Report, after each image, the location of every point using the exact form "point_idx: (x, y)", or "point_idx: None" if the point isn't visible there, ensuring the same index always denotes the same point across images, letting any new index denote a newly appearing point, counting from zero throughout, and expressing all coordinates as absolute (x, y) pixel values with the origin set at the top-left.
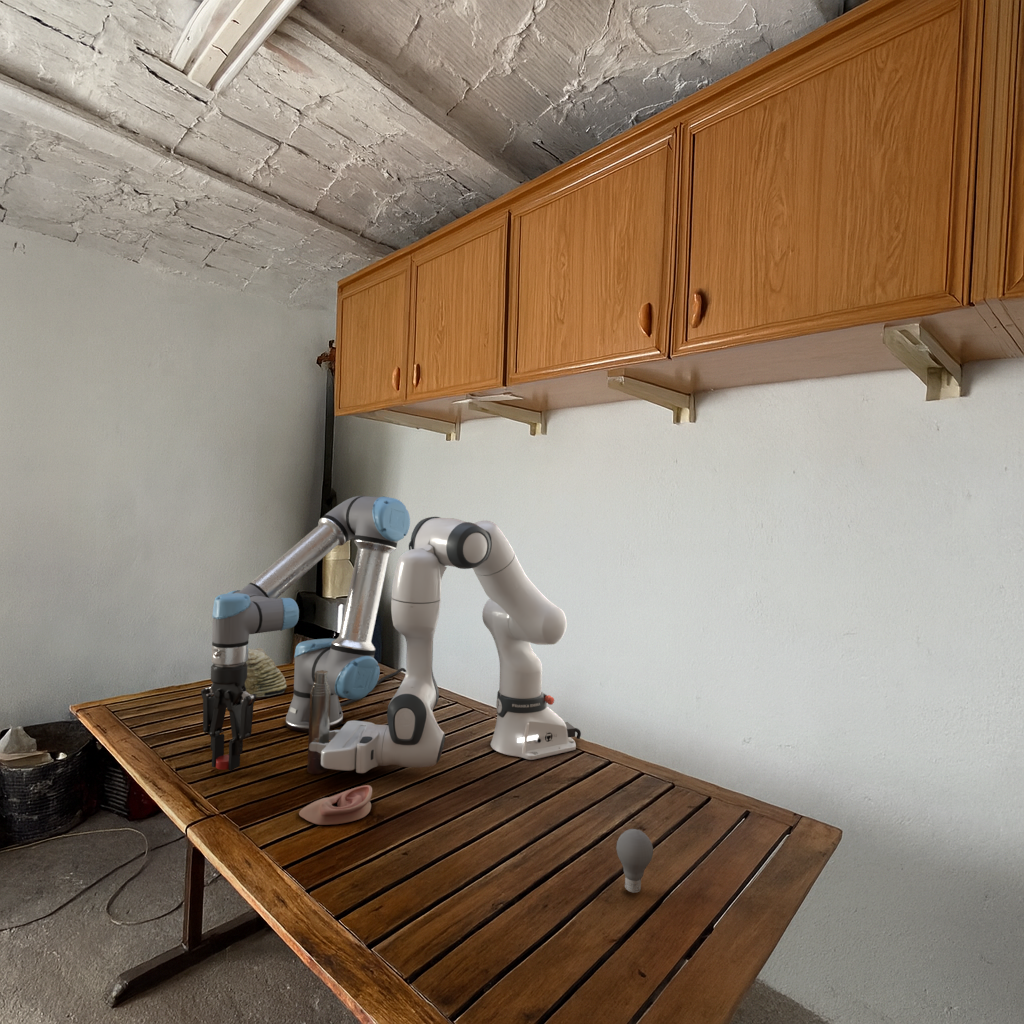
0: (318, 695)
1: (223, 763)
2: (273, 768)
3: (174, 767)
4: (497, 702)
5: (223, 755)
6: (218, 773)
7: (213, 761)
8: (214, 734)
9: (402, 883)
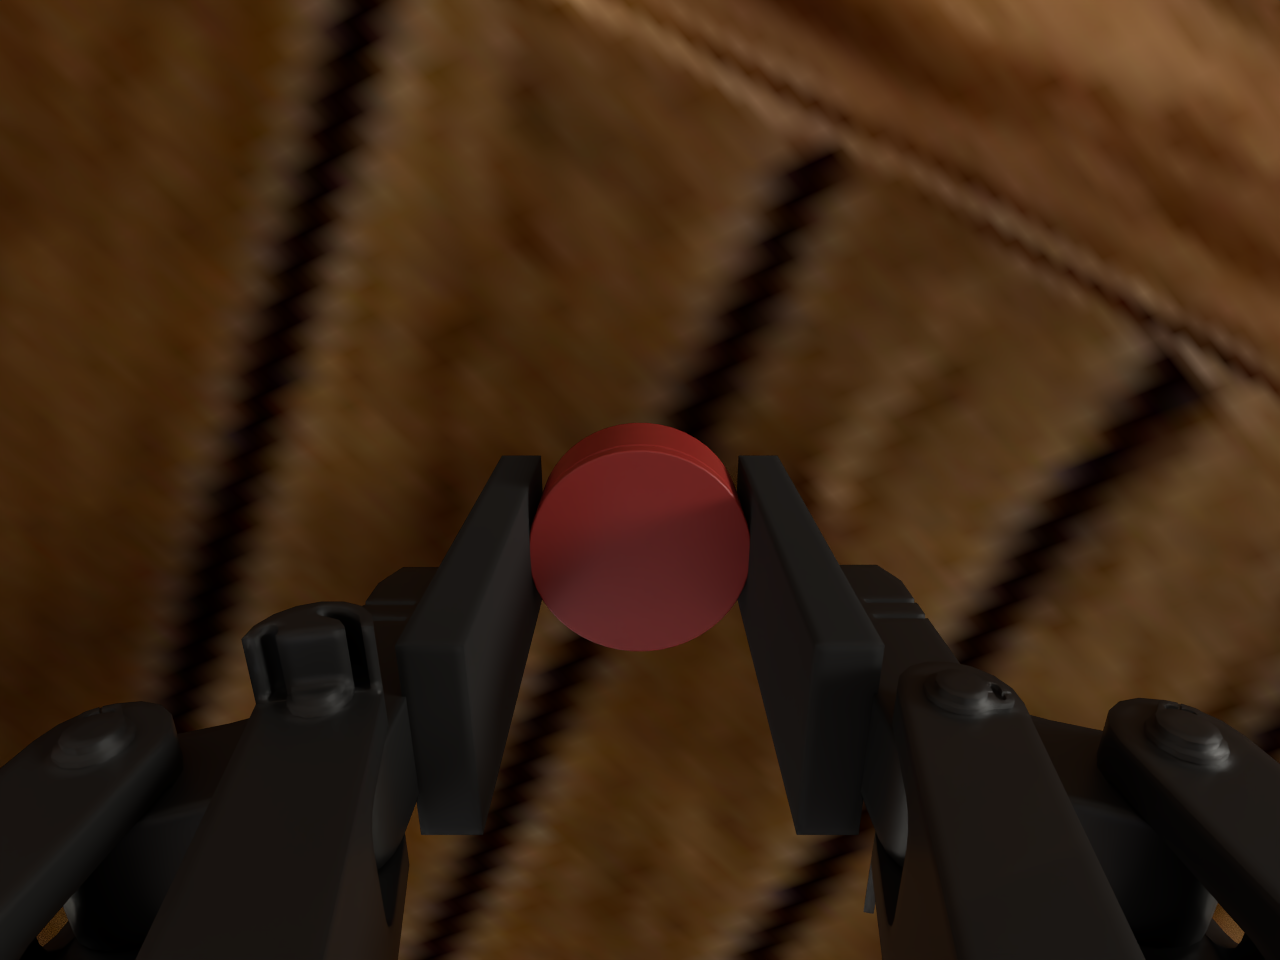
0: None
1: (582, 457)
2: None
3: (1232, 400)
4: None
5: (727, 607)
6: None
7: (766, 479)
8: (897, 717)
9: None
